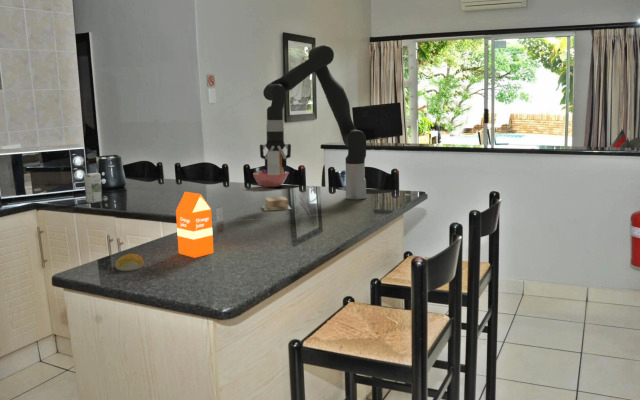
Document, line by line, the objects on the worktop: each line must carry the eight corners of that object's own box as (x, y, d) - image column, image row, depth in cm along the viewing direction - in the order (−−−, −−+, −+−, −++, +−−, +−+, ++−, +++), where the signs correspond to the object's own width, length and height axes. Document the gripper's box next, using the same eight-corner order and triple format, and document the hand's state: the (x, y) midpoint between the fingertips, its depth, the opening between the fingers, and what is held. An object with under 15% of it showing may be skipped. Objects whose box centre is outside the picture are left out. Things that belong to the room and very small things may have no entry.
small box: (279, 175, 257) (279, 151, 255) (267, 175, 258) (266, 151, 256) (284, 173, 265) (283, 149, 263) (272, 172, 266) (271, 149, 264)
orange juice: (194, 257, 186) (190, 195, 182) (178, 253, 191) (174, 193, 188) (214, 252, 191) (210, 192, 188) (197, 248, 197) (194, 190, 194)
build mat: (288, 206, 269) (288, 204, 269) (291, 210, 260) (291, 208, 260) (262, 207, 267) (262, 206, 267) (264, 211, 257) (264, 210, 257)
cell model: (253, 185, 335) (252, 165, 333) (288, 184, 337) (287, 164, 335) (253, 190, 319) (252, 169, 317) (290, 188, 321) (289, 168, 319)
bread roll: (143, 262, 183) (142, 249, 182) (144, 270, 174) (143, 257, 174) (115, 264, 180) (114, 252, 180) (114, 273, 172) (113, 259, 171)
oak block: (284, 205, 268) (284, 196, 268) (288, 208, 260) (287, 199, 259) (265, 206, 267) (265, 197, 266) (267, 210, 258) (267, 201, 257)
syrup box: (96, 200, 296) (93, 172, 294) (103, 201, 293) (100, 172, 290) (85, 202, 291) (83, 173, 289) (92, 203, 288) (90, 174, 286)
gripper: (289, 129, 263) (290, 166, 266) (257, 130, 260) (258, 167, 263) (292, 130, 256) (292, 168, 258) (259, 130, 253) (260, 169, 256)
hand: (275, 167), depth 261 cm, fingers closed on small box, 7 cm apart
